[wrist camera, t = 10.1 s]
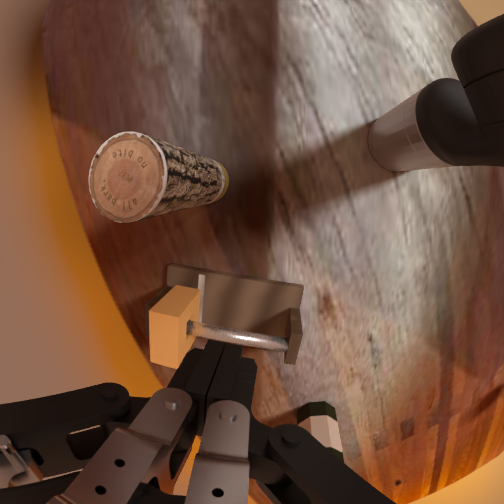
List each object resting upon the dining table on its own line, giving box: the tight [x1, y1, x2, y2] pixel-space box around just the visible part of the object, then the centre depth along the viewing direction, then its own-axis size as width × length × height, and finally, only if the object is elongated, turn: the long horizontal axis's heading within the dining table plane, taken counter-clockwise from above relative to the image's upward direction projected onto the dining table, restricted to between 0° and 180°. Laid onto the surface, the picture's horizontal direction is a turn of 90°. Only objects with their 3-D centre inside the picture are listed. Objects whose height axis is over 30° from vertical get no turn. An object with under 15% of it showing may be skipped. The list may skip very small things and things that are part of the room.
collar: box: [149, 285, 201, 369], centre depth 39 cm, size 4×8×10 cm, turn 172°
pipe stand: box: [145, 263, 304, 365], centre depth 42 cm, size 22×12×10 cm, turn 82°
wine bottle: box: [297, 401, 344, 463], centre depth 36 cm, size 8×8×30 cm
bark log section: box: [89, 132, 229, 223], centre depth 31 cm, size 7×7×25 cm
